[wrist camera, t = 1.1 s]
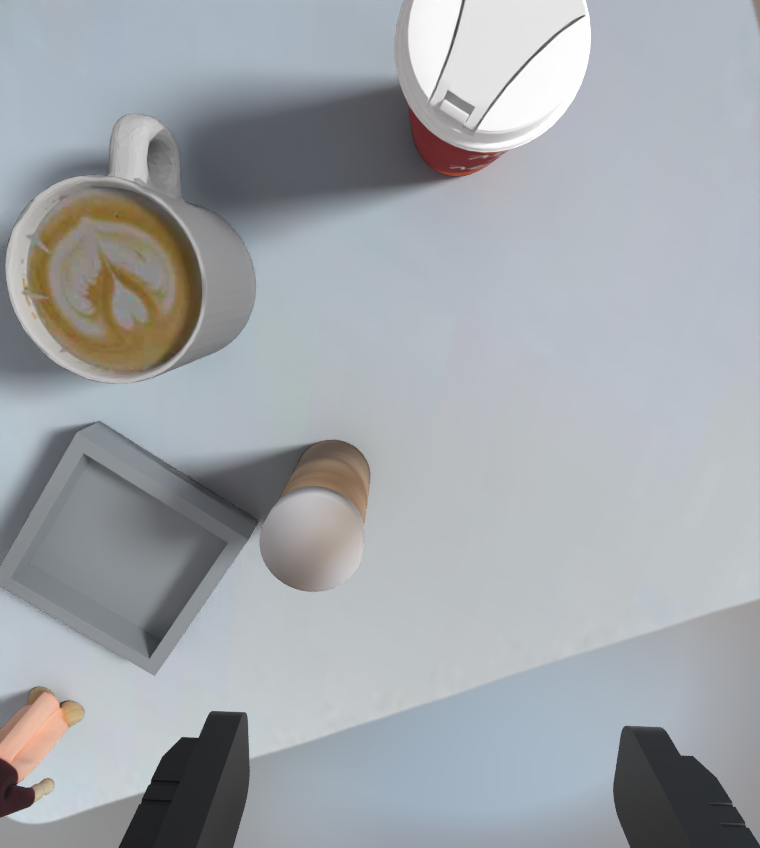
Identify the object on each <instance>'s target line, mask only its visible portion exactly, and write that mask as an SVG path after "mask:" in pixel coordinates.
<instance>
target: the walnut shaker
mask: <svg viewBox="0 0 760 848" xmlns="http://www.w3.org/2000/svg"><path fill="white" fill-rule="evenodd" d="M369 484H370V469H369V465H368V463H367V460H366V459H365V457H364V455H363V454H362V453H361V452H360V451H359V450H358V449H357V448H356V447H354V446H353V445H351V444H349V443H346V442H344V441H339V440H325V441H321V442H318V443H316V444H314V445H312V446H311V447H310V448H308V449H307V450H306V451H305V452H304V454H303V455H302V457H301V458H300V460H299V462H298V464H297V466H296V468H295V469H294V471H293V473H292V475H291V477H290V479H289V481H288V483H287V485H286V486H285V488H284V490H283V492H282V494H281V496H280V498H279V500H278V501H277V502H276V503H275V505H274V506H273V507H272V509H271V511H270V513H269V514H268V516H267V518H266V520H265V522H264V524H263V527H262V529H261V533H260V550H261V555H262V558H263V560H264V562H265V564H266V566H267V567H268V569H269V570H270V572H271V573H272V574H273V575H274V576H275V577H276V578H277V579H278V580H280V581H281V582H283V583H284V584H286V585H288V586H290V587H292V588H295V589H298V590H302V591H308V592H318V591H325V590H329V589H332V588H335V587H337V586H339V585H341V584H342V583H344V582H345V581H346V580H347V579H349V578H350V577H351V576H352V574H353V573H354V572H355V571H356V569H357V567H358V565H359V563H360V561H361V558H362V553H363V546H364V538H365V530H364V523H365V515H366V508H367V500H368V492H369Z"/></svg>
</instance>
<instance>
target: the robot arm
mask: <svg viewBox="0 0 760 848" xmlns="http://www.w3.org/2000/svg"><path fill="white" fill-rule="evenodd" d="M249 772H250V769H249V742H248V719H247V714H246V713H245V712H222V711H211V712H210V713H209V715H208V717H207V719H206V722H205V724H204V726H203V729H202V731H201V734H200V736H199V738H188V737H182V738H181V739H180V740H179V741H178V742H177V743H176V744H175V745H174V746H173V747H172V748H171V749H170V750H169V751H168V752H167V753H166V754H165V755H164V756H163V757H162V759H161V761H160V763H159V765H158V767H157V769H156V771H155V773H154V775H153V777H152V779H151V784H150V785H149V786H148V788H147V790H146V792H145V794H144V796H143V798H142V802H141V804H139V806H138V808H137V810H136V813H135V815H134V817H133V819H132V821H131V823H130V825H129V827H128V829H127V831H126V834H125V836H124V838H123V839H122V842H121V844H120V846H119V848H233V846H234V843H235V839H236V835H237V832H238V828H239V825H240V821H241V817H242V814H243V810H244V807H245V803H246V799H247V793H248V786H249ZM613 786H614V787H613V793H614V802H615V808H616V812H617V815H618V818H619V821H620V823H621V826H622V828H623V831H624V833H625V835H626V838H627V840H628V843H629V845H630V848H760V845H759V843H758V842H757V840H756V839H755V837H754V836H753V834H752V832H751V831H750V829H749V828H746V826H745V822H744V820H743V818H742V817H741V815H740V814H739V813H738V811H737V809H736V807H733V805H732V801H731V800H730V798H729V797H728V795H727V794H726V792H725V790H724V789H723V787H722V786H721V784H720V783H719V781H718V779H717V778H716V777H715V776H714V775H713V774H712V773H711V772H710V771H709V770H707V769H706V768H705V767H704V766H703V765H702V764H701V763H700V762H699V761H697V760H696V759H695V758H694V757H693V756H681V755H680V754H679V752H678V750H677V749H676V747H675V745H674V744H673V742H672V740H671V739H670V737H669V735H668V734H667V732H666V731H665V730H664V729H663V728H661V727H640V726H625V727H624V728H623V730H622V733H621V738H620V745H619V751H618V758H617V764H616V771H615V777H614V785H613Z"/></svg>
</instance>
